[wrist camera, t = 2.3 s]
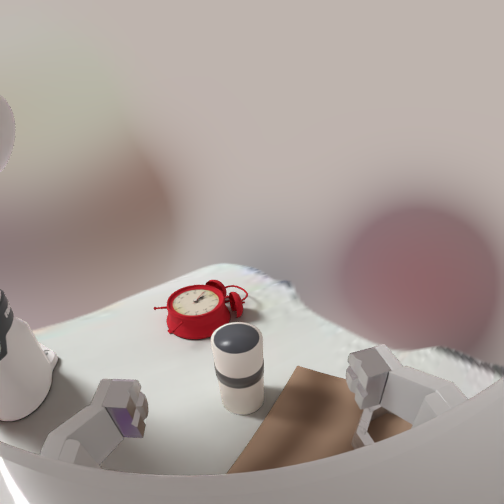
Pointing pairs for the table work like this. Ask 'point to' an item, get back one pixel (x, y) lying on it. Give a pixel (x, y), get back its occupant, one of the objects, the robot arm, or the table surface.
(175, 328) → the alarm clock
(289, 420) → the walnut mount plate
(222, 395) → the white lens
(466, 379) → the table surface
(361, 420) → the ring
